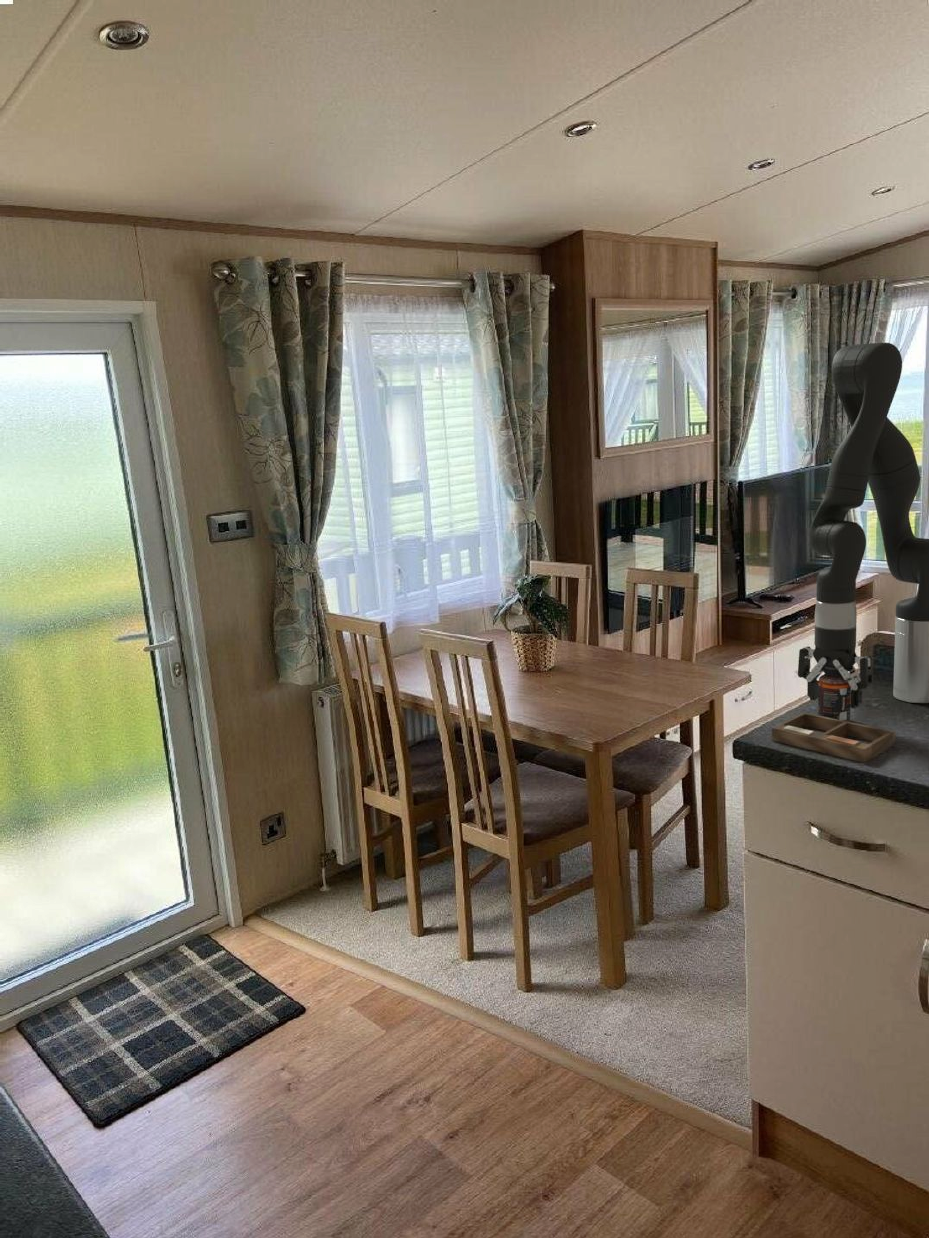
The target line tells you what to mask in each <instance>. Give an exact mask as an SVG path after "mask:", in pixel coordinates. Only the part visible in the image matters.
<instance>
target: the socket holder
mask: <svg viewBox="0 0 929 1238" xmlns="http://www.w3.org/2000/svg"><path fill="white" fill-rule="evenodd" d="M804 727H808V728H811V729H817V730H821V731H823V733H821V732H817V731H814V730H809V729H805V728H804ZM824 731H825V732H824ZM845 737H854V738H857V739H861V740H867V741H871V742H869V743H865V742H864V743H863V742H860V741H859V740H854V739H851V738H845ZM895 740H896V731H894V730H889V729H886V728H881V727H876V726H875V727H874V726H869V725H866V724H862V723H856V722H851V721H849V722H847V721H842V720H838V719H833V718H828V717H823V716H819V715H818V714H812V713H809V712H801V713H799V714H797V715H795V716H793V717H791V718H789V719H786V720H784V721H782V722H781V723H779V724H777V725H775V726H773V727H771V741H773V742H776V743H780V744H781V743H782V744H784V745H785V744H786V745H790V746H794V747H799V748H801V749H802V748H803V749H805V750H811V751H815V752H819V753H821V754H822V753H823V754H826V753H827V754H826V755H832V756H834V757H835V756H836V757H840V758H843V759H847V760H851V761H854V762H855V761H856V762H859V763H863V764H865V763H867V762H868V761H870V760H871V759H874V757H876V756H878V755H880V754H881V753H883V752H885V751H887V750H888V749H890V748H891V747H893V746H895V744H896V742H895Z"/></svg>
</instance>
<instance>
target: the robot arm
mask: <svg viewBox="0 0 929 1238" xmlns="http://www.w3.org/2000/svg"><path fill="white" fill-rule="evenodd" d="M902 370H903V359H902V354H901V352H900V349H898V347H897V346H896V345H894V344H893V343H890V342H873V343H860V344H850V345H847V346H843V347H842V348H840V349H839V350H838V351H836V353H835V354H834V357H833V360H832V363H831V376H832V377H831V378H832V382H833V384H834V388H835V391H836V394H837V396H838V398H839V401H840V403H841V405H842V408H843V410H844V412H845V414H846V417H847V419H848V421H849V424H850V427H851V428H850V430H849V431H848V432H847V434H846V435H845V437H844V439H842V442H841V443H840V444H839V446H838V447H837V449H836V450H835V453H834V455H833V457H832V460H831V463H830V466H829V471H828V472H829V473H828V475H827V482H826V488H825V494H824V496H823V499H822V500H821V503H820V504H819V507H818V509H817V511H816V513H815V516H814V517H813V520H812V522H811V524H810V527H809V532H808V541H809V545H810V547H811V549H812V551H813V552H814V553H815V554H818V555H821V556H826V557H831V558H833V559H832V563H831V566H830V567H829V568H826V569H823V570H820V571H819V573H818V574H817V576H816V594H815V595H816V596H815V598H816V602H815V607H814V608H815V610H814V619H813V620H814V641H813V642H814V643H813V644H814V646H815V647H814V648H811V646H809V645H808V646H804V647H802V648H800V649H799V652H798V662H797V663H798V664H797V666H798V667H797V676H798V677H799V678H802V679H805V680H806V683H807V690H806V691H807V696H808V697H809V700H810V701H815V700H818V685H819V678H820V677H821V676H822V675H823V673H824V667H831V668H837V669H838V670H839V674H840V675H842V676H843V678H844V680H845V681H847V682H848V683H849V685H850V686H851V706H850V709H855V710H856V709H857V708H859V707H860V705H862V704H863V690H865V689H868V688H870V687H872V686H873V685H874V674H873V673H874V671H873V657H872V656H871V655H865V656H859V655H857V653H856V648H857V618H858V617H857V616H858V614H857V613H858V612H857V611H858V610H857V604H856V603H857V602H856V600H857V599H856V598H857V597H856V594H857V592H856V591H857V586H856V585H857V584H856V583H857V577H858V574H859V572H860V570H861V569H860V568H861V566H862V562H863V558H864V555H865V552H866V547H867V537H866V536H867V535H866V534H865V533H866V532H865V530H864V529H863V527H862V526H861V525H860V524H859V523H858V522H854V521H851V520H845V518H846V516H847V515H848V512H849V511H851V510H853V509H857V508H860V507H861V506H862V505H863V504H864V501H865V498H866V492H867V489H868V487H869V488H870V489H869V491H870V492H871V495H872V498H873V502H874V507H875V510H876V513H877V514H876V515H877V516H878V522H879V526H880V531H881V536H882V541H883V542H882V543H883V548H884V553H885V559H886V564H887V567H888V570H889V573H890V575H892V577H893V578H894V579H896V580H898V581H900V582H905V583H910V584H916V585H917V586H918V589H917V594H916V596H914V597H909V598H906V599H901V600H899V601H897V603H896V605H895V616H894V617H895V621H894V622H895V625H894V626H895V627H894V656H893V657H894V659H893V687H892V688H893V691H892V692H893V694H892V695H893V697H894V698H895V699H897V700H899V701H903V702H907V703H913V704H914V703H915V704H917V703H918V704H929V538H922V537H916V536H915V535H914V532H913V529H912V526H911V521H910V511H911V508H912V505H913V503H914V501H915V499H916V495H917V493H918V491H919V487H920V483H921V474H920V469H919V465H918V461H917V458H916V454H915V451H914V448H913V446H912V444H911V443H910V440H908V439H907V437H906V435H904V434H903V433H902V431H901V430H900V429H899V428H898V427H897V426H896V425H895V424H894V422H892V420H890V419H889V417H888V414H889V412H890V409H891V406H892V403H893V401H894V398H895V395H896V393H897V390H898V386H899V383H900V380H901V376H902ZM813 658H814V660H815V661H816V664H815V665H814V667H813V668H812V669H811V659H813ZM855 664H857V667H858V668H859V672H860V673H859V672H858V671H857V669H856V667H855V666H854V665H855ZM810 669H811V670H810ZM840 675H839V676H840ZM859 675H860V676H859Z"/></svg>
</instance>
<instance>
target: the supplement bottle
mask: <svg viewBox="0 0 929 1238" xmlns="http://www.w3.org/2000/svg"><path fill="white" fill-rule="evenodd" d="M823 673H824V674H821V675H820V676H819V677H818V681H819V685H818V699H817V702H818V703H817V705H818V706H817V715H819V716H823V717H828V718H833V719H838V720H842V721H847V722H851V690H852V688H851V686H850V685H849V683H848V682H847V681H845V680H844V678H843V676H842V675H840V674H839V670H838V669H837V668H831V667H824V672H823ZM839 675H840V676H839Z"/></svg>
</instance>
